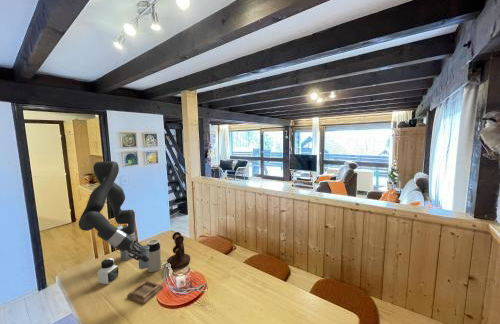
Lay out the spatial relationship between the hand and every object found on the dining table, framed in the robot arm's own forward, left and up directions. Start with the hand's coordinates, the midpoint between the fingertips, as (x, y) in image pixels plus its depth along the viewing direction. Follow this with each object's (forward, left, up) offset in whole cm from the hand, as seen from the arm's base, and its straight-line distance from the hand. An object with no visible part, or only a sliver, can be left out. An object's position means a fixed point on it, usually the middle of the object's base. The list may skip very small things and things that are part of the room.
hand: (147, 257), depth 110 cm
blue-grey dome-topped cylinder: (+1, -1, -4) cm, 5 cm away
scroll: (-28, -4, -19) cm, 34 cm away
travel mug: (-17, -14, -19) cm, 29 cm away
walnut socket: (+1, -1, -19) cm, 19 cm away
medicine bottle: (+1, -30, -19) cm, 36 cm away
